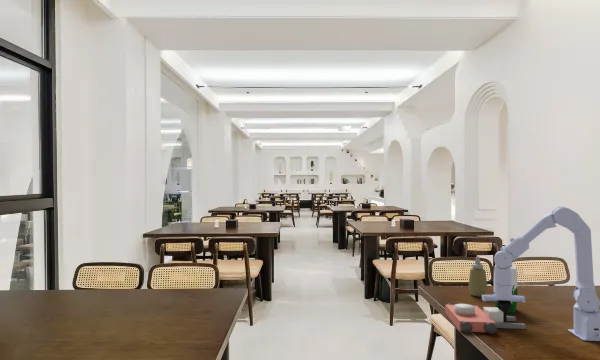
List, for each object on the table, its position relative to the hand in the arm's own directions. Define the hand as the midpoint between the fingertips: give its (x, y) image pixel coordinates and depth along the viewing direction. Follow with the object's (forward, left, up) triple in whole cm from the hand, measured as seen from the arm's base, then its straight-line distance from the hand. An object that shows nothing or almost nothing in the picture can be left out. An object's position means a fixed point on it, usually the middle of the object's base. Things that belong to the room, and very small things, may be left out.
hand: (503, 321), depth 148 cm
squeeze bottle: (+40, -3, -1) cm, 40 cm away
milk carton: (+18, -7, -1) cm, 20 cm away
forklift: (0, +6, -1) cm, 6 cm away
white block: (0, +5, -1) cm, 5 cm away
